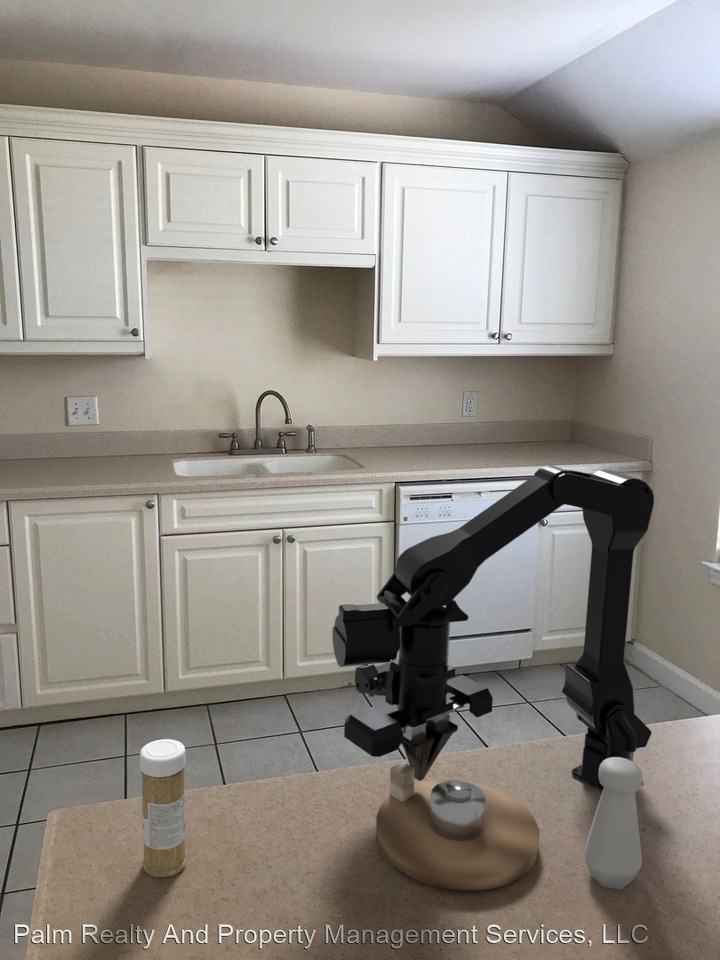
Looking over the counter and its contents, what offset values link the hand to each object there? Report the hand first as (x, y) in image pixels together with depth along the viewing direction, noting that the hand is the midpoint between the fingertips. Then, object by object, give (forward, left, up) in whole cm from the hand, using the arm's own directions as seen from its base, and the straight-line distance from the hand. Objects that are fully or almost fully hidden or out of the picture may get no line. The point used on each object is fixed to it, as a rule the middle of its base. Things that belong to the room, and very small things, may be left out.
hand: (418, 778), depth 99 cm
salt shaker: (-8, +22, -4) cm, 23 cm away
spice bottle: (+29, -7, -4) cm, 30 cm away
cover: (+1, +8, -1) cm, 8 cm away
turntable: (+1, +8, -3) cm, 9 cm away
